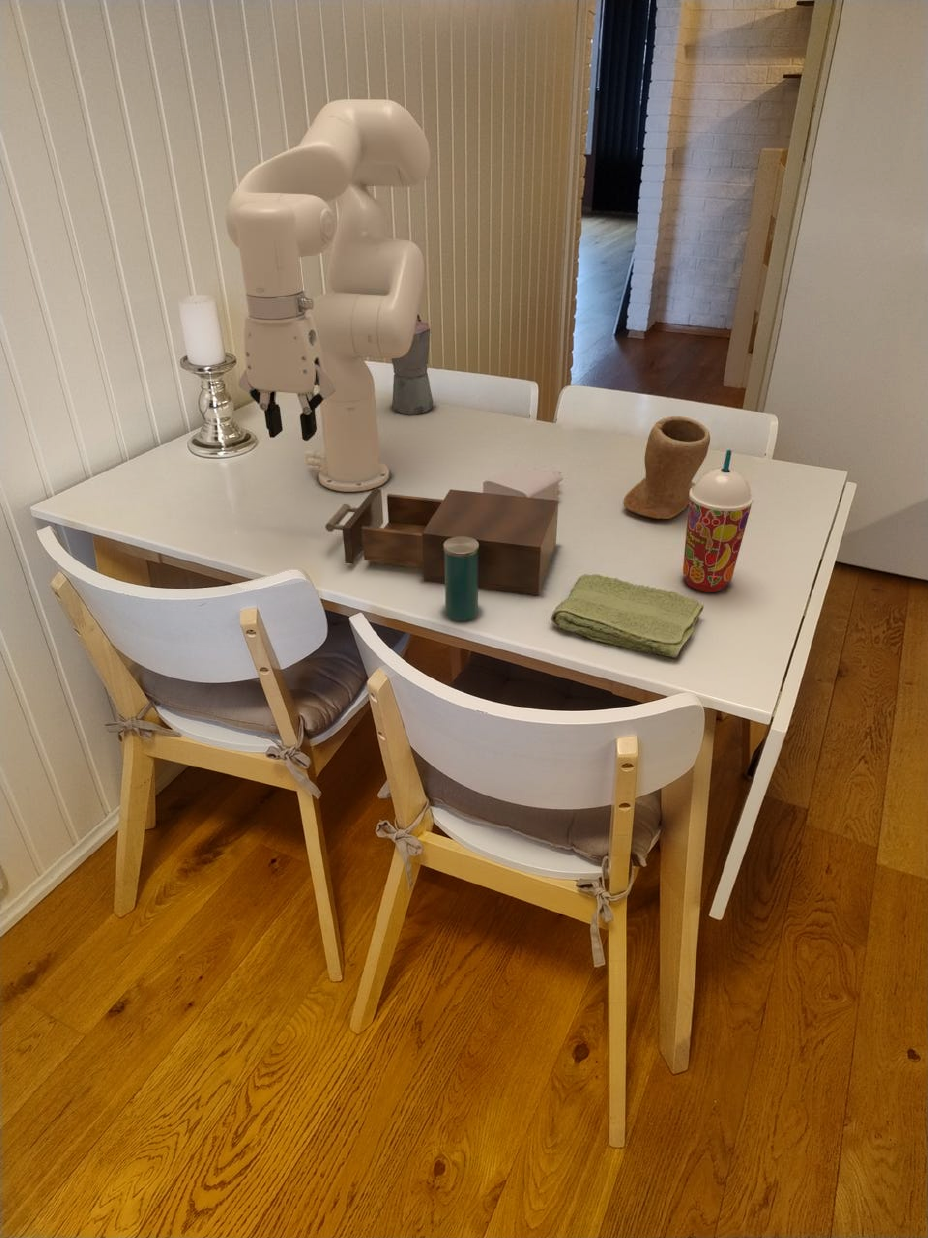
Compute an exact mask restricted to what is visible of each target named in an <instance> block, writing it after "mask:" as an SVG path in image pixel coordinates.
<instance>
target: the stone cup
mask: <svg viewBox="0 0 928 1238" xmlns="http://www.w3.org/2000/svg"><path fill="white" fill-rule="evenodd" d="M646 442H647V443H646V446H645V452H644V470H645V477H643V478H642V479H641V480H640V482H638V483H637V484H636V485H635V486H633V488H631V489H630V490H629V492H627V494H626V495H625V496H624V498H623V501H622V504H623V506H624V508H626V509H627V510H629V511H631V512H632V513H635V514H636V515H641V516H644V517H648V518H651V519H661V520H668V519H672V518H674V517H676V516H677V515H679V514H680V513H682V512H683V511H684V510H685V509H686V508H687V507H688V506H689V491H690V489H691V488H692V487H693V486H694V485H695V484H696V482H693V480H694V478H695V476H696V474H697V473H698V471H699V469H700V468H701V466H702V465H703V463H704V461H705V459H706V457H707V455H708V452H709V446H710V444H711V435H710V431H709V430H708V428H707V427H705V425H704V424H702V423H701V422H700V421H698V420H695V419H693V418H692V417H691V418H690V417H687V416H680V415H671V416H667V417H663V418H661V419H660V420H658V421H657V422H656V423H655V424H654V425H653V426H652V428H651V430H650V432H649V435H648V438H647V441H646Z"/></svg>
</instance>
